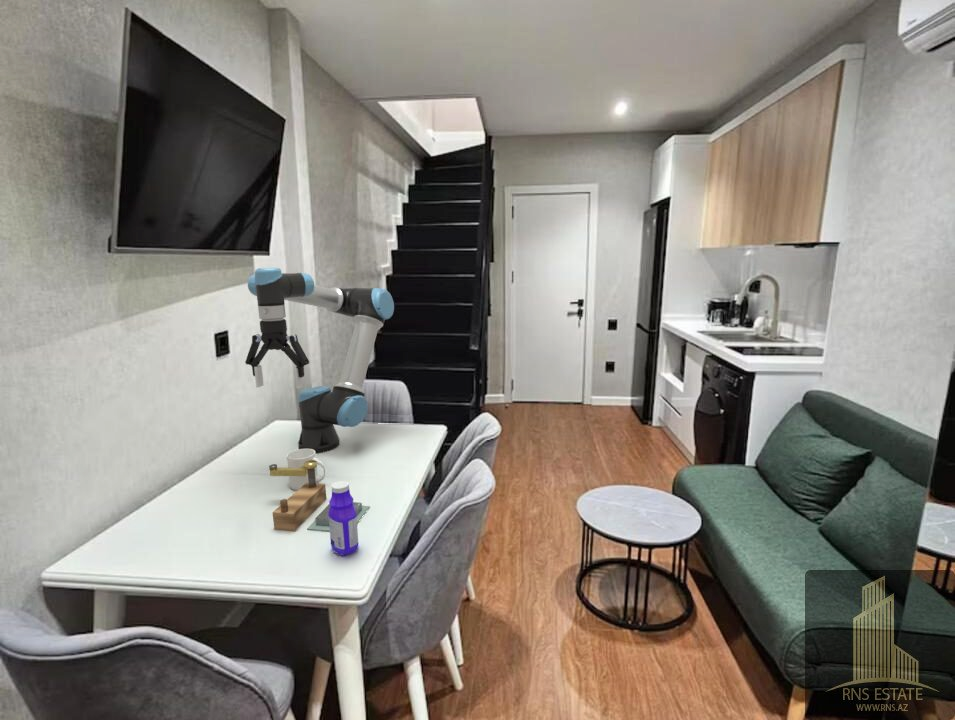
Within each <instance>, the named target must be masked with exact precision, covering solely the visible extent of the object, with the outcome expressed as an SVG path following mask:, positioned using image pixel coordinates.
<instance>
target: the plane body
mask: <svg viewBox="0 0 955 720" xmlns="http://www.w3.org/2000/svg"><path fill="white" fill-rule="evenodd" d="M307 470H308V481H309V483H306V484H304V485H303V486H302V487H301V488H300V489H299V490H295V491H294V493H293V494H292V495H290V496H289V497H288V498H284V499H281V500H280V501H279V503H280V505H279V506H278V507H277V508H275V509H274V510H273V511H272V519H273V530H276V531H289V532H296V531H297V530H298V529H299V528H300V526H301V525H303V524H304V523H305V522H306V521H307V519H309V518H310V517H311V516H312V515H313V514H314V512H316V511H317V510H318V508H320V507H321V505H322V504H323V503H324V502H326V500H327V490H326V488H327V487H326V483H322V482H321V483H319V482H318V483H316V479H315V468H313V469H307Z"/></svg>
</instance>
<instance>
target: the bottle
mask: <svg viewBox="0 0 955 720" xmlns="http://www.w3.org/2000/svg"><path fill="white" fill-rule="evenodd" d="M354 500H355V499H354V497H353V496H352V494H351V491H350V483H349V482H348V481H346V480H338V481H336V482H334V483H332V484H331V497H330V499H329V502H328V503H329V504H330V508H329V512H328V515H329V526H330V532H329V536H330V537H329V539H330V546H331V548H332V550H333V552H335V553H336V554H338V555H341V556H348V555H350V554H352V553H355V552H356V551H357V550H358V548H359V534H358V533H359V532H358V530H359V529H358V523H357V516H356V510H355V507H354V505H353V504H352V503H353V502H354ZM329 504H328V505H329Z"/></svg>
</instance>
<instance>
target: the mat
mask: <svg viewBox="0 0 955 720" xmlns="http://www.w3.org/2000/svg"><path fill="white" fill-rule="evenodd" d="M370 508H371V506H370V505H362V510H361V511H360V513H359V514H358V515H357V524H359V523H360V521H361V520H362V518H363V517H364V516H365V514H367V512H368V511H369V510H370ZM367 510H368V511H367ZM366 511H367V512H366ZM363 515H364V516H363ZM362 516H363V517H362ZM360 519H361V520H360ZM359 520H360V521H359ZM307 531H315V532H329V533H330V526H321V525H316V520H315V519H314V520H313V522H312V523H311V524H310V525H309V526H308V527H307Z"/></svg>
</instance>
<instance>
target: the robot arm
mask: <svg viewBox="0 0 955 720" xmlns="http://www.w3.org/2000/svg"><path fill="white" fill-rule="evenodd" d="M247 289H248V291H249V292H250V293H251V295H253V296H255V297H256V301H257V310H258V319H260V321H259V329H260V332H261V334H259V333H258V334H253V335H252V336H251V345H250V348H249V350H248V353H247V356H246V359H245V365H249V366H251V370H252V375H253V377H254V378H255V386H256V388H260V387H262V386H264V385H265V383H264V374H263V368H262V364H261V362H262V360H263V359H264V357H265V356H266V354H267V353H268V352H269V350H270V351H273V350H276V351H279V350H280V351H281V352H284V354H285V355H286V356H287V357H288V358H289V359H290V361H291V362H292V363H293V364H294V365H295V367H294V377H295V378H294V379H295V385H296V386H295V388H296V389H301V388H302V387H304V384H303V381H304V380H303V378H304V377H305V366H306V365H309V364H310V360H309V359H308V356H307V355H306V353H305V351H304V349H303V348H302V346H301V344H300V343H299V339H298V335H297V334H292V335H288V333H287V331H288V326H287V320H286V319H285V318H286V307H285V301H288V302H292V303H293V302H294V303H298V304H304V305H309V306H312V307H317V308H323V309H326V310H327V311H328V312H331V313H336V314H339V315H343V316H346V317H351V318H353V321H354V322H355V325H354V329H353V333H352V335H351V340H350V343H349V347H348V350H347V354H346V357H345V362H344V363H343V367H342V371H341V374H340V379H339V381H338V383H336V384H334V385H333V386H332V387H333V388H332V389H331V386H329V385H323V386H315V387H310V388H306V389H302V390H301V391H300V392H299V394H298V407H299V416H300V426H301V431H300V434H299V440H298V443H297V444H298V445H297V446H298V449H313V450H315V452H316V454H321V453H322V454H323V453H326V452H331V451H333V450H335V449H337V448H338V447H339V446H340V443H341V442H340V437H339V435H338V432H337V429H336V428H335V426H341V427H343V428H345V427H349V428H352V427H353V428H354V427H357V426H359V424H361V423H362V422H363V421H364V420H365V418H366V416H367V414H368V408H369V405H368V399H367V398H366V397H365V395H366V393H365V391H364V389H363V387H364V382H365V379H366V375H367V371H368V368H369V364H370V360H371V357H372V352H373V349H374V346H375V342H376V339H377V334H378V330H379V329H381V328H383V327H384V324H385V322H386V321H387V320H389V319H391V318H392V316H393V314H394V311H395V303H394V300H393V297H392V295H391V293H390V292H389V291H388V290H387V289H385V288H378V287H374V288H373V287H371V288H369V287H368V288H367V287H366V288H363V287H361V288H360V287H351V288H347V287H346V288H343V287H342V288H341V287H335V286H334V287H331V288H329V287H325V286H321V285H316V284H315V281H314V279H313V277H312V276H311V275H310V274H309V273H306V272H293V273H292V272H291V273H290V272H289V273H287V272H286V273H284V272H283V273H282V269H281V268H280V267H265V268H264V267H262V268H261V267H260V268H256V269H255V271H254V273H253V274H252V275H251V276H250V277H249V278H248V281H247ZM385 320H386V321H385ZM261 342H262V343H263V344H262V345H261V347H260V344H261ZM289 343H290V344H289ZM290 345H291V346H290ZM259 347H260V350H258V349H259ZM291 347H292V348H291ZM257 352H258V353H257Z"/></svg>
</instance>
